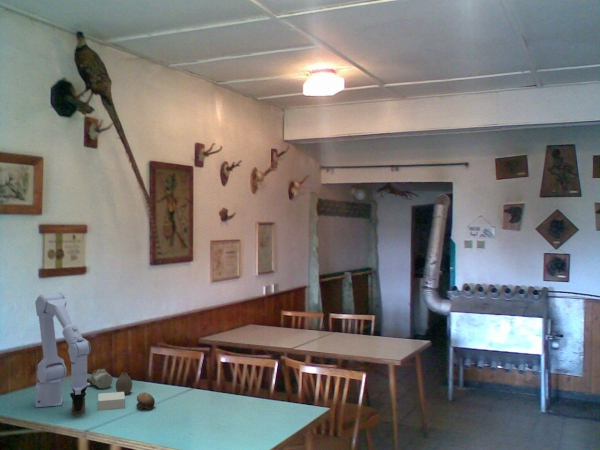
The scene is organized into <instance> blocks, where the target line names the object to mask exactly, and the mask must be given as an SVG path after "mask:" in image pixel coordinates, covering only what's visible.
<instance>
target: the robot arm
mask: <svg viewBox="0 0 600 450" xmlns="http://www.w3.org/2000/svg"><path fill="white" fill-rule="evenodd" d="M34 304H35V309H36V316H37V317H38V322H39V323H38V324H39V329H40V330H39V331H40V337H41V347H42V355H43V358H42V360H40V362H38V364H37V371H36V377H37V380H38V381H39V382H36V384H35V385H36V386H35V398H34V399H35V400H34V401H35V408H46V407H47V408H48V407H57V406H59V407H60V406H62V404H63V400H64V398H62V381H64V378H65V377H66V375H67V367H66V365H65V360H64V359H63V358H61V357H60V356H59V355H58V348H57V340H56V332H55V331H56V330H55V323H54V317H55V318H57V319H56V320H57V321H58V322H59V324H60V325H61V327H62V328H63V330H62V335H63V338H64V339H65V341H66V343H67V346H68V348H67V353H68V355H69V361H70V362H71V365H70V368H71V370H70V372H71V373H70V376H71V377H70V388H71V389H72V392H70V393H69V394H70V395H69V396H70V398H71V399H72V400H73V403H74V409H75V412H77V411H81V409H82V404H83V400H84V398H86V395H87V392H86V391H87V389H88V387H90V386H91V384H90V383H87V379H88V355H90V353H91V349H92V348H91V344H90V342H89V340H87V339H86V338H84V337H83V336H82V334H81V332H80V330H79V328H78V326H77V325H75V324H73V323H72V320H71V317H70V315H69V312H68V311H67V307H66V306H67V299H66V296H65V294H63V293H62V292H58V293H52V294H50V293H49V294H39V295H38V297H36V299H35V303H34Z"/></svg>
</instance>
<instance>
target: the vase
mask: <svg viewBox="0 0 600 450" xmlns="http://www.w3.org/2000/svg"><path fill="white" fill-rule="evenodd" d="M132 389H133V380H132V379H131V377H130V376H129V375H128V373H127V372H121V373H120V375H119V376H118V378H117V379H116V382H115V392H124V395H125V396H127V395H128V394H130V393H131V391H132Z"/></svg>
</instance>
